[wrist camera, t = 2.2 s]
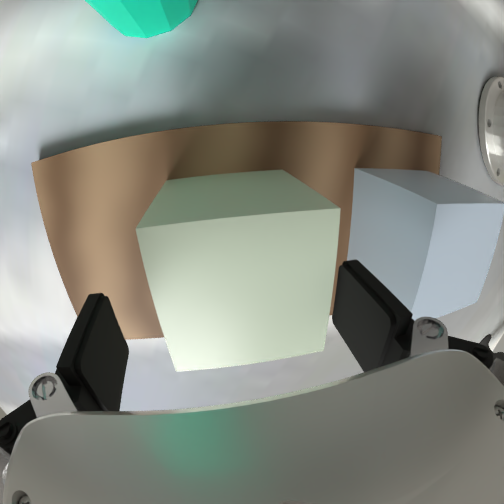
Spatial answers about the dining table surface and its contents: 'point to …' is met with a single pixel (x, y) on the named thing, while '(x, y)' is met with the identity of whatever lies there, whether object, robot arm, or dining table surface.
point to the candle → (144, 15)
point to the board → (192, 165)
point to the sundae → (485, 342)
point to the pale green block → (240, 267)
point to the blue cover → (423, 237)
